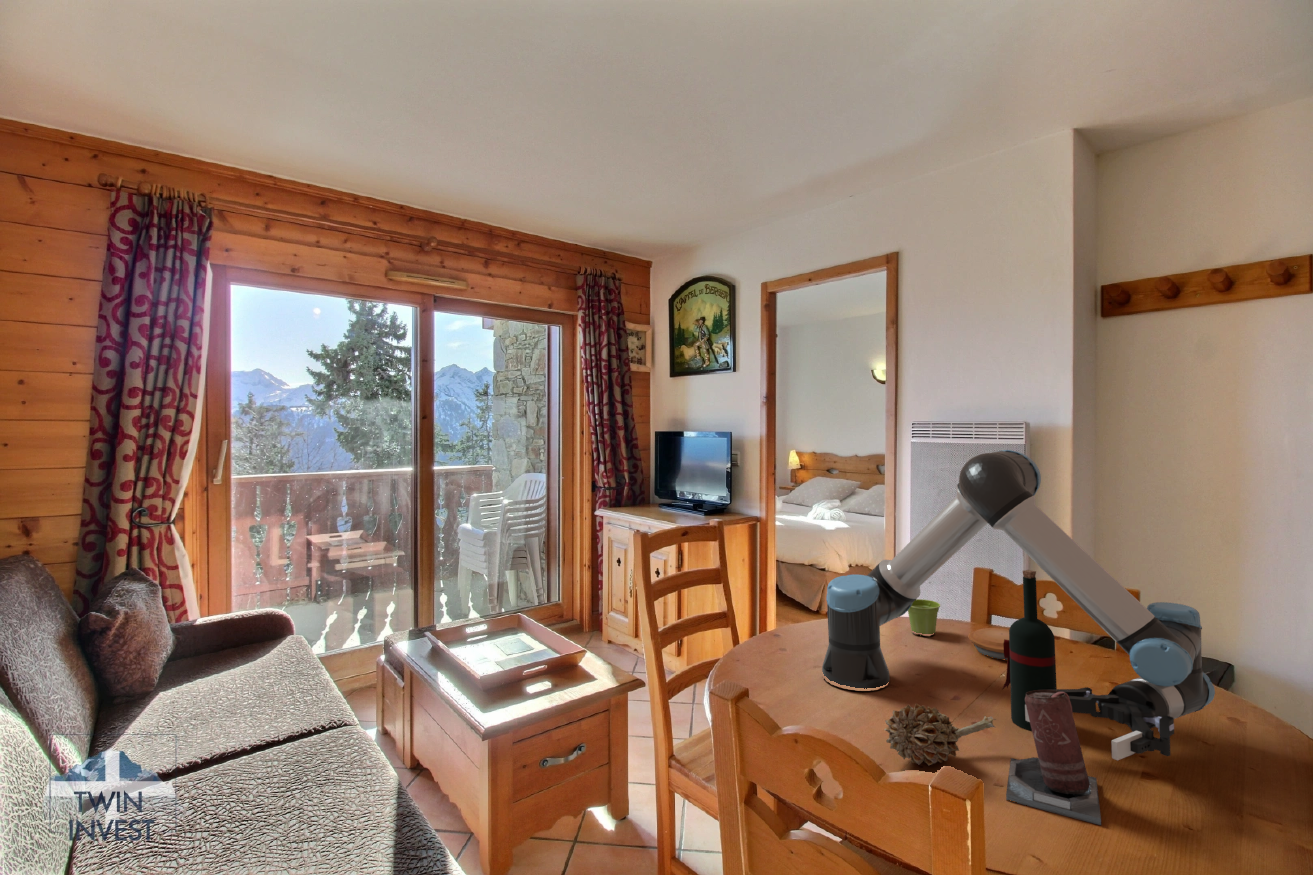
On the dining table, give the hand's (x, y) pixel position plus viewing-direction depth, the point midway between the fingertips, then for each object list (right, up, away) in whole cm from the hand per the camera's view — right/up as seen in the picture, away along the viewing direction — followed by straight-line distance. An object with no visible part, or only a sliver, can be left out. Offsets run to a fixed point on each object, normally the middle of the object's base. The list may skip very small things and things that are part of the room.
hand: (1067, 730), depth 97 cm
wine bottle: (+7, -9, +22) cm, 25 cm away
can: (-2, -8, -3) cm, 8 cm away
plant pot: (+9, -9, +73) cm, 75 cm away
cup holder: (-3, -9, -1) cm, 10 cm away
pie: (+23, -8, +57) cm, 62 cm away
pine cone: (-16, -10, +10) cm, 21 cm away
